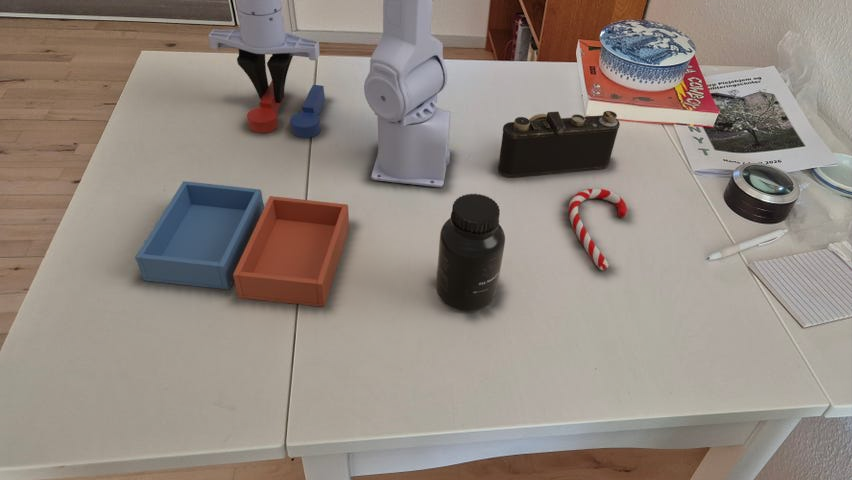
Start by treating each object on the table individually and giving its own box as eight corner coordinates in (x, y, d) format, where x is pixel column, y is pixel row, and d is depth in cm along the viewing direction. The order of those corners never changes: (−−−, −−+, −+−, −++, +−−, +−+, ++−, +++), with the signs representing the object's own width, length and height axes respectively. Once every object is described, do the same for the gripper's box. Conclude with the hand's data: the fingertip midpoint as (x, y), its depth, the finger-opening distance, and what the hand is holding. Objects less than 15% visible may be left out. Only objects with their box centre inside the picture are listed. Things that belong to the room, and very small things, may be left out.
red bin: (349, 226, 81) (348, 204, 78) (324, 307, 71) (321, 284, 69) (273, 218, 81) (269, 195, 78) (238, 297, 71) (232, 274, 69)
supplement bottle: (490, 319, 72) (503, 236, 64) (429, 306, 73) (433, 222, 64) (501, 276, 77) (514, 194, 69) (444, 264, 78) (450, 181, 69)
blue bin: (265, 212, 81) (261, 189, 79) (229, 289, 72) (223, 266, 69) (189, 203, 81) (183, 180, 79) (143, 280, 72) (134, 256, 69)
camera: (595, 143, 99) (607, 95, 93) (613, 170, 94) (627, 121, 89) (489, 152, 94) (494, 102, 89) (502, 181, 90) (509, 130, 84)
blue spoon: (306, 99, 100) (304, 83, 98) (332, 102, 100) (331, 86, 98) (288, 136, 93) (286, 120, 91) (316, 139, 93) (315, 123, 91)
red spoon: (266, 94, 100) (263, 78, 98) (293, 97, 100) (291, 81, 98) (245, 131, 93) (242, 115, 91) (273, 134, 93) (271, 118, 91)
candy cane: (577, 262, 78) (566, 184, 89) (575, 270, 79) (564, 191, 90) (642, 266, 78) (623, 188, 89) (639, 274, 79) (621, 196, 90)
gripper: (321, 0, 90) (328, 90, 100) (214, -12, 90) (231, 79, 100) (308, 22, 85) (317, 115, 95) (195, 9, 85) (215, 103, 95)
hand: (272, 98), depth 97 cm, fingers closed on red spoon
